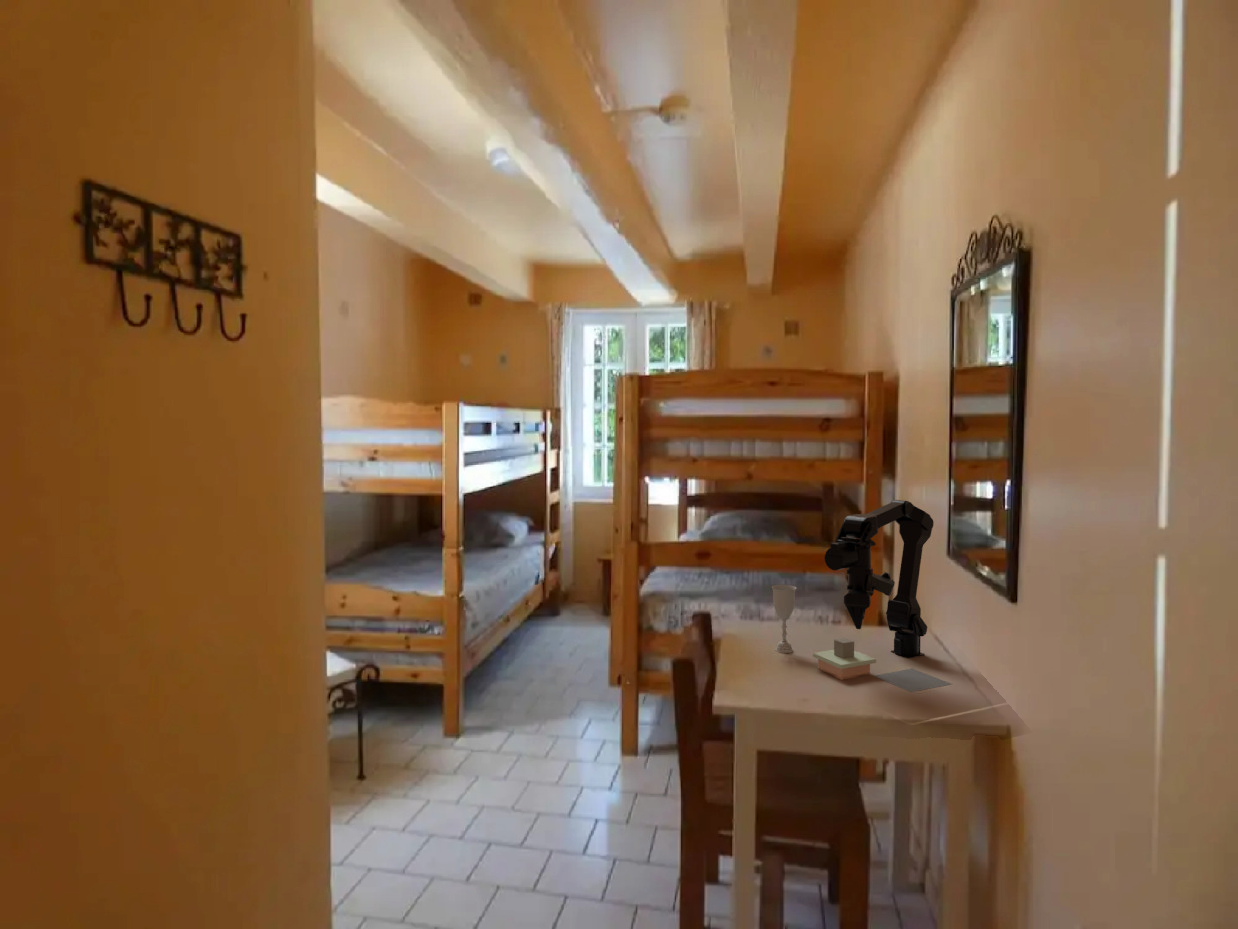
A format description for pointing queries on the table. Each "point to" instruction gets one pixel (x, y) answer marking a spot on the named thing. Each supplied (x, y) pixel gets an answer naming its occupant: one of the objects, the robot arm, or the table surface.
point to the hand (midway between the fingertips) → (860, 624)
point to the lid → (844, 655)
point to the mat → (912, 680)
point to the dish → (844, 670)
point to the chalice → (784, 611)
